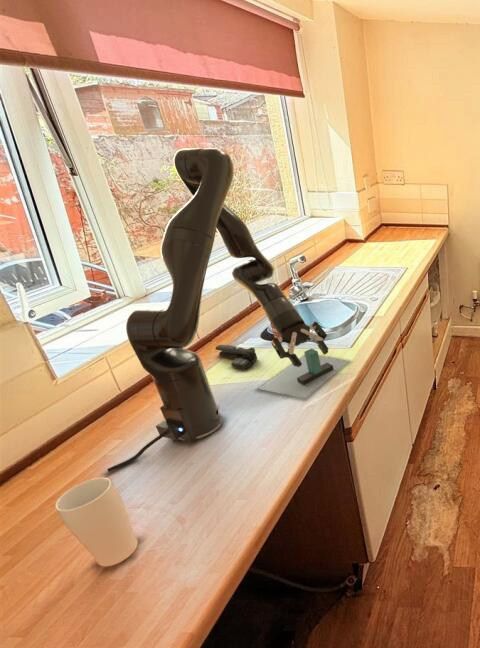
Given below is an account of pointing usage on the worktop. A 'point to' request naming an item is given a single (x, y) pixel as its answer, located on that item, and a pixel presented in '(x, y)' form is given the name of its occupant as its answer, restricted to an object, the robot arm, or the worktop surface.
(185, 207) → the robot arm
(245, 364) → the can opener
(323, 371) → the wiper
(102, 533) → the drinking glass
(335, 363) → the cloth mat
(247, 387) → the worktop surface
